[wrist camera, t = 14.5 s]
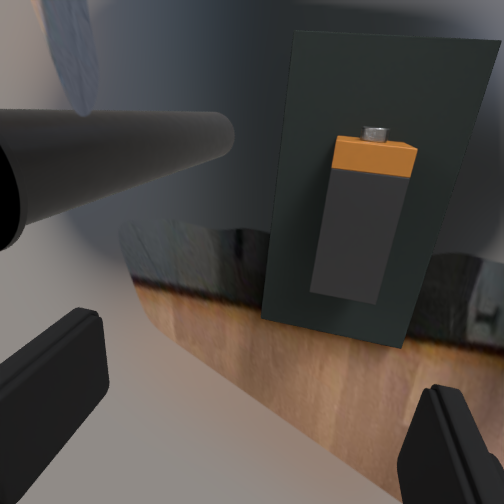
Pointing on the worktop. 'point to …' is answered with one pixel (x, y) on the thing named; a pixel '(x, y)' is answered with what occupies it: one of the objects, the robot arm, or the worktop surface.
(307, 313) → the mat
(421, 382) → the worktop surface
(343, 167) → the battery
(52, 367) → the robot arm
